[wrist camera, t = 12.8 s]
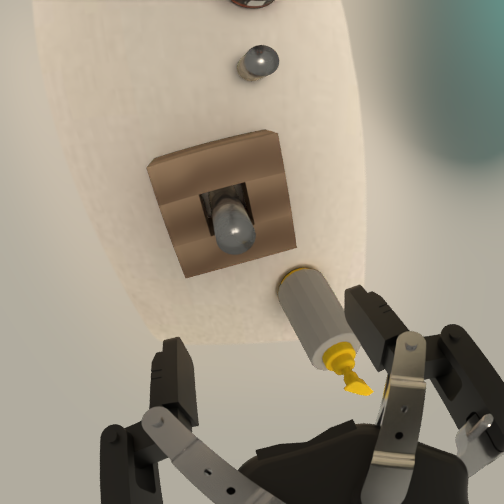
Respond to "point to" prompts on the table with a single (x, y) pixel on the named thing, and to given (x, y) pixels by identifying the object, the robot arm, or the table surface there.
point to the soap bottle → (321, 325)
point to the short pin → (258, 63)
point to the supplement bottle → (253, 3)
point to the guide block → (219, 176)
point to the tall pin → (231, 221)
